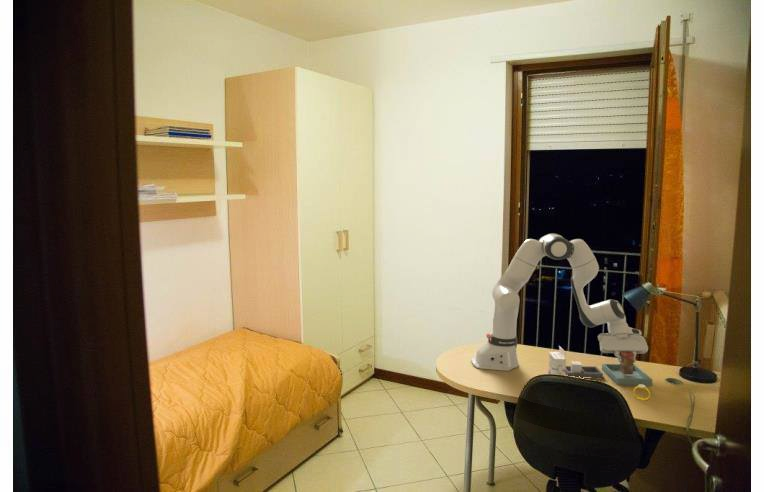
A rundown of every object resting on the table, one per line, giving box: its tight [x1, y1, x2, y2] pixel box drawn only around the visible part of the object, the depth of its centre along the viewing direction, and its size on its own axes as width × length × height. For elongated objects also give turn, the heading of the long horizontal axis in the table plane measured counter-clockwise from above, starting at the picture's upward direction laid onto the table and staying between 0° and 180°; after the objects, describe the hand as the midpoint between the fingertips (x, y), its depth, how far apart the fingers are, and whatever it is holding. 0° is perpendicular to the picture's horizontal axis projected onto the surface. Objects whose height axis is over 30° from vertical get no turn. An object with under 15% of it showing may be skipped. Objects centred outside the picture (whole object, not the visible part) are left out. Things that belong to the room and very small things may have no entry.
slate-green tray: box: [601, 363, 653, 387], centre depth 213 cm, size 15×17×3 cm
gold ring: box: [632, 384, 651, 401], centre depth 193 cm, size 6×3×6 cm, turn 57°
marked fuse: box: [619, 352, 635, 374], centre depth 212 cm, size 4×4×9 cm
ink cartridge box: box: [547, 345, 567, 376], centre depth 211 cm, size 9×5×15 cm, turn 179°
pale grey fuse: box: [570, 360, 583, 373], centre depth 216 cm, size 4×4×6 cm
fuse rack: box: [565, 365, 604, 379], centre depth 217 cm, size 15×8×2 cm, turn 86°
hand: (627, 361), depth 212 cm, fingers closed on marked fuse, 4 cm apart
